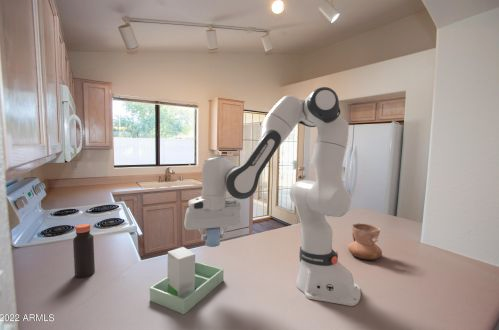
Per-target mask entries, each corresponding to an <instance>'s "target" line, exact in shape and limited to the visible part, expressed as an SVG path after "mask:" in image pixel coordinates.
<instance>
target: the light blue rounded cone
mask: <svg viewBox="0 0 499 330" xmlns="http://www.w3.org/2000/svg"><path fill="white" fill-rule="evenodd" d="M220 233H221V227H216V228H205V234H206V240H205V246H206V247H208V248H209V247H210V248H214V247H215V248H216V247H219V246H220V245H221V239H220Z"/></svg>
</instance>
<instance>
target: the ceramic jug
mask: <svg viewBox="0 0 499 330" xmlns="http://www.w3.org/2000/svg"><path fill="white" fill-rule="evenodd" d="M351 231H352V240H353V241H352V242H350V243H349V245H348V252H349V253H350V254H351V255H352V256H354V257H356V258H359V259H362V260H366V261H367V260H368V261H370V260H371V261H372V260H378V259H379V258H381V257H382V255H383V251H382V249H381V248H380V246H379V245H377V244H376V243H377V242H379V240H378V239H379V236H380V232H381V229H380V227H378V226H374V225H371V224H367V223H360V222H359V223H357V222H356V223H353V224H352V225H351Z"/></svg>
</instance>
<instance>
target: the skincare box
mask: <svg viewBox="0 0 499 330" xmlns="http://www.w3.org/2000/svg"><path fill="white" fill-rule="evenodd" d="M195 261H196V254H195V253H194V252H192V251H191V250H190V249H187V248H186V247H184V246H181V247H178V248H175V249H172V250H169V251H167V277H168V280H167V291H166V292H167V293H169V294H172V295H175V296H177V297H180V298H183V299H184V298H186V297H187V296H188V295H189V294H191V293H192V292H193V291H194V290H196V289H195Z"/></svg>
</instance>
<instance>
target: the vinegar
mask: <svg viewBox="0 0 499 330" xmlns="http://www.w3.org/2000/svg"><path fill="white" fill-rule="evenodd" d="M90 232H91V224H90V223H82V224H77V225H75V234H76V236H75V237H74V238H73V240H72V243H73V262H74V263H73V265H74V267H73V268H74V277H75V278H77V279H79V278H80V279H82V278H87V277H89V276H92V275H93V274H94V273H95V271H96V270H95V269H96V268H95V266H96V265H95V245H94V244H95V243H94V235H93V234H91V233H90Z"/></svg>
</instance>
